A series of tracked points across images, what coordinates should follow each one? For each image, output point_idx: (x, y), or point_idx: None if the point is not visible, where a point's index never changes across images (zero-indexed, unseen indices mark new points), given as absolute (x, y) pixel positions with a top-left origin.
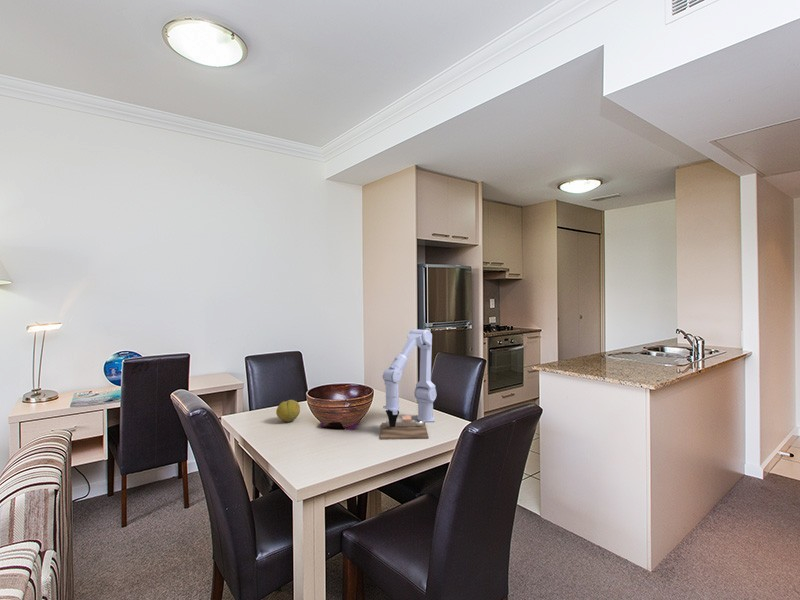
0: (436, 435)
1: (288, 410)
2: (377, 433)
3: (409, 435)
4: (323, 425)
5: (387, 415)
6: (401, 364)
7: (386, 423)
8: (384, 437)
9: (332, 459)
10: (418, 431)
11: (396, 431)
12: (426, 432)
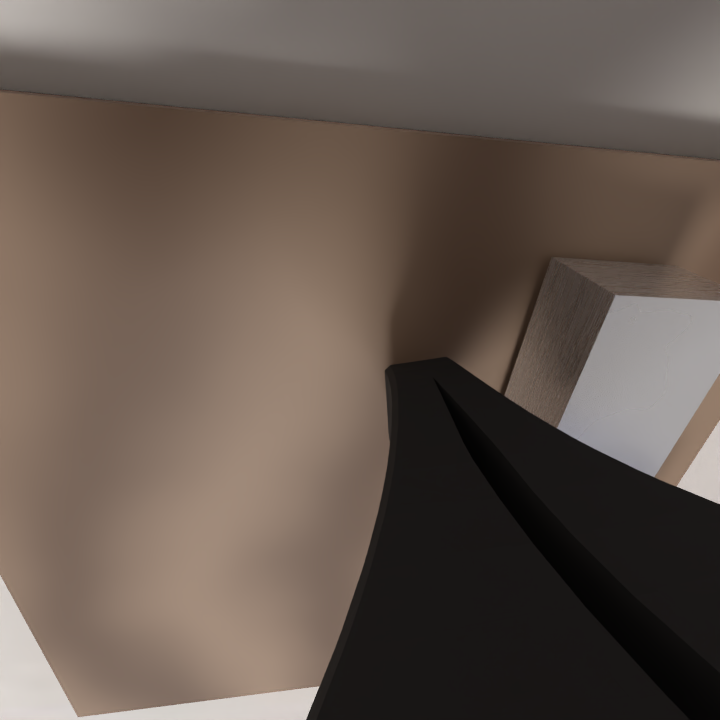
0: (205, 713)
1: None
2: (307, 14)
3: (64, 588)
4: None
5: (676, 501)
6: None
7: (586, 301)
8: None
9: None
10: (252, 644)
11: (259, 435)
12: (216, 694)
